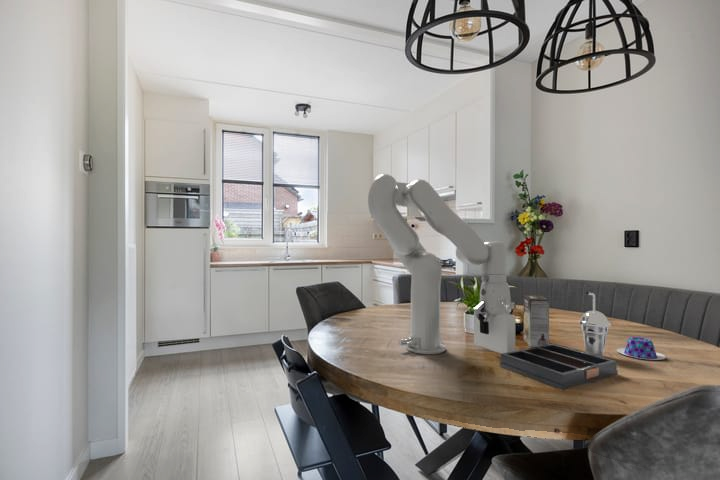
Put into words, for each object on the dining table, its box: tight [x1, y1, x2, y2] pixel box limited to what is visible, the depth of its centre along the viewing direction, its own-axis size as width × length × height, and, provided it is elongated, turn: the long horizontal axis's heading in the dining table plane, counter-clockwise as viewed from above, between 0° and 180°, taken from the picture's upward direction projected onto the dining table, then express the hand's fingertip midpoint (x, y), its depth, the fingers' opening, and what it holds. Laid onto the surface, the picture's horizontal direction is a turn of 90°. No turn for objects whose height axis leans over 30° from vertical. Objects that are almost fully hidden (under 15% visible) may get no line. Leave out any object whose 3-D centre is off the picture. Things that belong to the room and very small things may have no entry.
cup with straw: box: [578, 291, 612, 358], centre depth 111 cm, size 8×9×20 cm
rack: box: [499, 343, 619, 391], centre depth 98 cm, size 23×19×4 cm
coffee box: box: [523, 295, 550, 348], centre depth 124 cm, size 9×6×16 cm
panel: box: [473, 311, 516, 354], centre depth 118 cm, size 4×14×12 cm, turn 27°
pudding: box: [616, 336, 667, 361], centre depth 112 cm, size 12×12×5 cm
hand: (495, 331), depth 118 cm, fingers open, 9 cm apart
